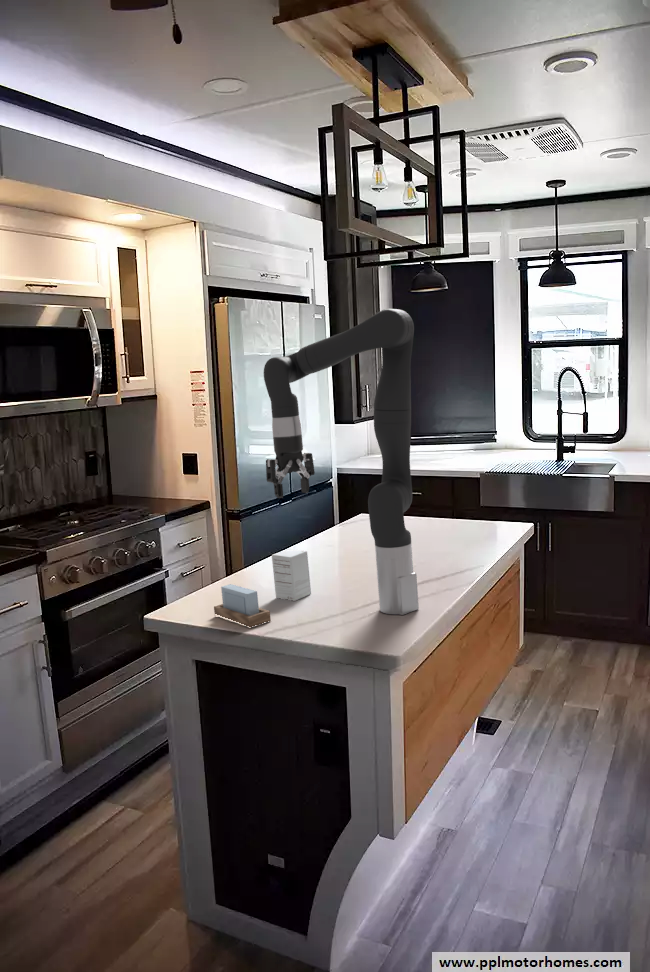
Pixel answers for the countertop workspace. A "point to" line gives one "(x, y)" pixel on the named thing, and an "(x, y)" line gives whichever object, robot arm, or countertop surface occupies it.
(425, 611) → the countertop surface
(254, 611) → the light blue rectangular block
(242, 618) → the wooden tray
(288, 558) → the supplement box
